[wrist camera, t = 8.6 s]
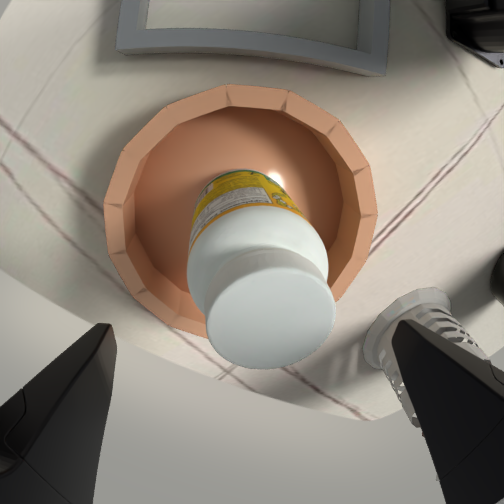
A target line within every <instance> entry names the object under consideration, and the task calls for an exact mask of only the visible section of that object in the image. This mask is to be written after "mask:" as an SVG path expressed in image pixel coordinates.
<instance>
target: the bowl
mask: <svg viewBox="0 0 504 504" xmlns="http://www.w3.org/2000/svg"><path fill="white" fill-rule="evenodd" d="M233 169H253V170H257V171H260V172H262V173H264V174H266V175H267V176H269V177H271V178H272V179H273V180H275V181H276V182H277V183H278V184H279V185H280V186H281V187H282V188H283V189H284V190H285V192H286V193H287V194H288V196H289V197H290V198H291V199H292V201H293V202H294V203H295V204H296V206H297V207H298V208H299V210H300V211H301V212H302V213H303V215H304V216H305V217H306V219H307V220H308V221H309V222H310V224H311V225H312V226H313V228H314V229H315V230H316V232H317V233H318V235H319V236H320V238H321V240H322V242H323V244H324V246H325V249H326V253H327V258H328V277H327V284H328V286H329V288H330V290H331V292H332V295H333V297H334V301H335V302H336V301H338V300H339V298H341V297H342V295H343V294H344V293H345V291H346V290H347V288H348V287H349V286H350V284H351V283H352V281H353V280H354V278H355V277H356V275H357V274H358V272H359V271H360V270H361V268H362V267H363V265H364V264H365V262H366V260H367V257H368V253H369V249H370V245H371V241H372V237H373V233H374V229H375V225H376V220H377V216H378V215H377V214H378V211H377V204H376V198H375V192H374V185H373V180H372V174H371V168H370V165H369V163H368V161H367V160H366V158H365V157H364V155H363V153H362V152H361V150H360V149H359V147H358V146H357V144H356V143H355V141H354V140H353V138H352V137H351V135H350V134H349V133H348V131H347V130H346V128H345V127H344V125H343V124H342V123H341V121H339V119H337V118H336V117H334V116H332V115H331V114H329V113H328V112H326V111H324V110H323V109H321V108H319V107H318V106H316V105H314V104H313V103H311V102H309V101H308V100H306V99H304V98H302V97H301V96H299V95H297V94H295V93H294V92H292V91H288V90H285V89H277V88H268V87H259V86H247V85H234V84H227V85H222V86H219V87H215V88H212V89H210V90H207V91H204V92H201V93H198V94H195V95H193V96H190V97H187V98H184V99H182V100H179V101H177V102H174V103H171V104H169V105H167V106H165V107H164V108H163V109H162V110H161V111H160V112H159V113H158V114H156V115H155V116H154V117H153V118H152V119H151V120H150V121H149V122H148V123H147V124H146V125H145V126H144V127H143V128H142V129H141V130H140V131H139V132H138V133H137V134H136V135H135V136H134V137H133V138H132V139H131V141H130V142H129V143H128V144H127V145H126V146H125V147H124V148H123V150H122V151H121V154H120V156H119V159H118V162H117V164H116V167H115V170H114V172H113V175H112V178H111V181H110V184H109V187H108V190H107V193H106V196H105V199H104V203H103V207H104V219H105V230H106V239H107V248H108V254H109V257H110V259H111V260H112V262H113V264H114V266H115V268H116V269H117V271H118V273H119V275H120V277H121V278H122V280H123V282H124V284H125V285H126V287H127V289H128V290H129V292H130V294H131V295H132V296H133V298H134V299H136V300H137V301H138V302H139V303H140V304H142V305H143V306H144V307H145V308H147V309H148V310H149V311H151V312H152V313H153V314H154V315H156V316H157V317H158V318H159V319H161V320H162V321H163V322H165V323H166V324H167V325H170V326H171V327H174V328H176V329H179V330H182V331H185V332H188V333H191V334H194V335H197V336H201V337H204V338H207V339H208V336H207V332H206V323H205V315H204V314H203V313H202V312H201V311H200V310H199V309H198V307H197V306H196V304H195V302H194V301H193V299H192V296H191V294H190V291H189V287H188V282H187V260H188V251H189V243H190V235H191V227H192V218H193V212H194V207H195V203H196V200H197V198H198V196H199V194H200V192H201V191H202V189H203V188H204V187H205V185H206V184H207V183H208V182H209V181H211V180H212V179H213V178H215V177H216V176H218V175H219V174H221V173H224V172H227V171H230V170H233Z"/></svg>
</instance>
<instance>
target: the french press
mask: <svg viewBox="0 0 504 504" xmlns="http://www.w3.org/2000/svg"><path fill="white" fill-rule="evenodd" d="M450 312H451V302H450V300H449V298H448V296H447V294H446V292H444V291H442V290H439V289H437V288H435V287H430V288H422V289H416V290H414V291H412V292H410V293H408V294H406V295H404V296H402V297H400V298H398V299H397V300H396V301H395V302H393V303H392V304H391V305H390V306H389V307H388V308H386V309H385V310H384V311H383V312H382V313H381V314H380V315H379V316H378V318H377V319H376V320H375V322H374V323H373V325H372V326H371V327H370V329H369V330H368V332H367V335H366V338H365V341H364V345H363V348H362V349H363V354H364V359H365V361H366V362H367V363H368V364H369V365H371V366H372V367H373V368H376V369H383V370H384V372H385V375H386V377H387V376H388V377H389V378H388V377H387V379H388V380H389V381H390V383H391V386H392V388H393V386H394V388H395V389H394V388H393V389H394V391H395V392H396V394H397V397H398V399H399V397H400V399H401V400H400V399H399V401H400V402H401V403H402V407H403V409H404V410H405V412H406V414H407V416H408V418H409V420H410V421H411V423H412V424H413V425H414V426H415V427H421V426H420V424H419V421H418V418H415V417H412V415H413V414H414V413H415V411H414V408H413V405H412V403H411V400H410V398H409V395H408V393H407V390H406V388H405V386H399V385H400V384H401V383H402V382H403V380H402V377H401V374H400V370H399V367H398V364H397V361H396V357H395V354H394V351H393V348H392V344H391V340H392V336H393V334H394V332H395V329H396V327H397V325H398V322H399V321H400V320H402V319H412V320H414V321H416V322H418V323H419V324H421V325H423V326H425V327H427V328H428V329H430V330H432V331H434V332H435V333H437V334H439V335H441V336H442V337H444V338H446V339H448V340H449V341H451V342H453V343H455V344H456V345H458V346H460V347H462V348H463V349H465V350H467V351H469V352H470V353H472V354H474V355H476V356H477V357H479V358H481V359H484V361H486V362H488V363H489V364H491V362H490V359H489V358H488V357H487V355H486V354H485V353H484V352H483V350H482V349H481V348H479V347H478V345H477V344H476V342H475V341H474V340H473V338H471V337H470V336H469V334H468V333H467V332H466V330H465V329H464V328H462V326H461V325H460V323H459V322H458V321H457V320H456V319H454V317H453V316H452V315H451V313H450ZM458 324H459V326H458ZM457 329H460V332H457V331H456V330H457ZM465 332H466V334H467V335H468V336H467V335H465ZM456 337H457V338H456ZM464 338H466V339H468V342H462V341H463V339H464ZM473 342H474V343H475V345H476V346H477V347H476V346H474V345H472V344H473ZM491 365H492V364H491ZM392 380H393V381H394V384H393V383H392ZM398 390H399V391H403V392H402V393H401V394H398ZM422 436H423V437H424V434H423V432H422ZM436 481H440V480H439V478H438V475H437V479H436Z"/></svg>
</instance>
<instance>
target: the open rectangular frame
mask: <svg viewBox="0 0 504 504" xmlns="http://www.w3.org/2000/svg"><path fill="white" fill-rule="evenodd" d="M148 6H149V0H122V2H121V8H120V14H119V21H118V29H117V37H116V45H115V50H116V51H118V52H120V53H122V54H124V55H133V54H150V53H216V54H233V55H246V56H256V57H266V58H274V59H282V60H289V61H296V62H302V63H308V64H313V65H319V66H324V67H329V68H334V69H339V70H343V71H348V72H352V73H356V74H360V75H364V76H368V77H373V76H386V67H387V55H388V40H389V20H390V0H360V5H359V23H358V38H357V50H353V49H350V48H346V47H341V46H337V45H333V44H328V43H324V42H319V41H314V40H308V39H303V38H297V37H291V36H285V35H278V34H270V33H262V32H252V31H242V30H228V29H207V28H166V29H145V28H146V20H147V13H148Z"/></svg>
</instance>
